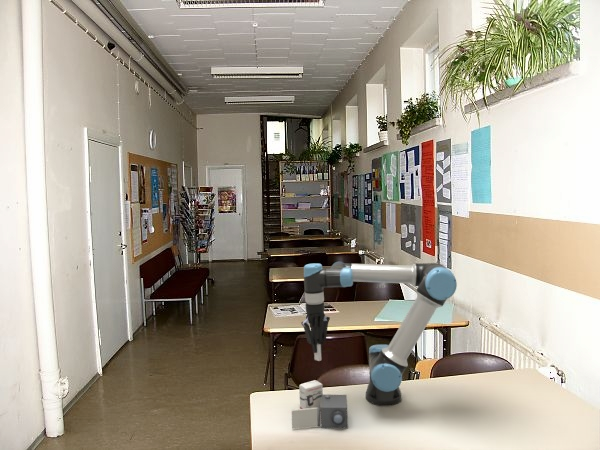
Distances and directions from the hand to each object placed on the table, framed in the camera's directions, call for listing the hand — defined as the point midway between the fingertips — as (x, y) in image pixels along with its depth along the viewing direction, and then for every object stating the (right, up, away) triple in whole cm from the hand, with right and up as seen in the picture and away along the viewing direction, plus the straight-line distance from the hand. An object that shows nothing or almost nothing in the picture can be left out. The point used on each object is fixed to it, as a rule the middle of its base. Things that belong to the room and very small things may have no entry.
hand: (318, 359), depth 205 cm
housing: (+6, -22, -7) cm, 24 cm away
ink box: (-3, -22, +1) cm, 22 cm away
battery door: (-5, -22, -13) cm, 26 cm away
